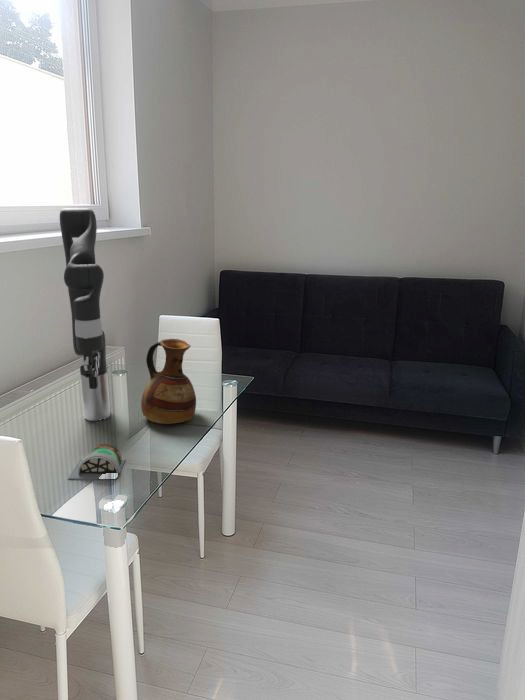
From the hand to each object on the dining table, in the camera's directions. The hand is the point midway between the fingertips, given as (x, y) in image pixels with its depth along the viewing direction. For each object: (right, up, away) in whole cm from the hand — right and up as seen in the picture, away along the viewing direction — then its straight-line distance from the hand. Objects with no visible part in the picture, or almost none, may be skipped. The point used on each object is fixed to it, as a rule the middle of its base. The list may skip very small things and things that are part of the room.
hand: (93, 387), depth 159 cm
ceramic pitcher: (+17, -14, +36) cm, 42 cm away
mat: (+1, -25, 0) cm, 25 cm away
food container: (+2, -19, +5) cm, 20 cm away
